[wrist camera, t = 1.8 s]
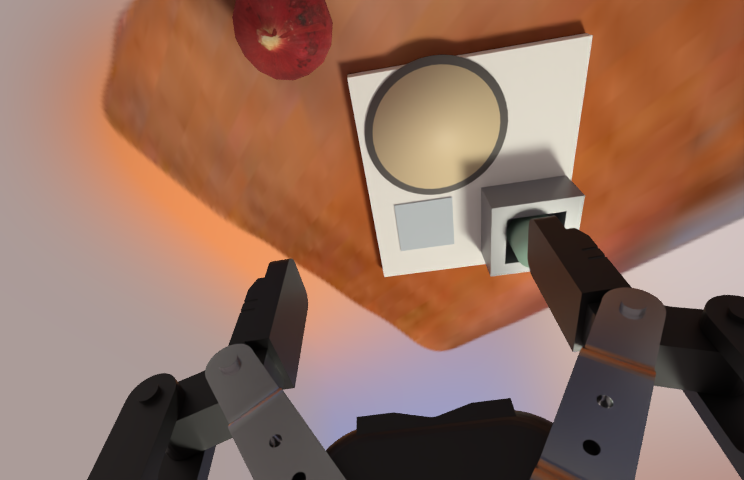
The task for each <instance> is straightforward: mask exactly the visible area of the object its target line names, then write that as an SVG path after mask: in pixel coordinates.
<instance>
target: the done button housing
mask: <svg viewBox="0 0 744 480" xmlns="http://www.w3.org/2000/svg"><path fill="white" fill-rule="evenodd" d="M584 198H585V195H584V194H583V193H582V192H581V191H580V190H579V189H578V188H577V187H576V185H575V184H574V183H573V182H572V181H571V180H570V179H569V178H568V177H567V176H566V175H564V176H557V177H550V178H543V179H536V180H529V181H522V182H515V183H509V184H502V185H495V186H488V187H481V253H482V256H483V258H484V261H485V263H486V266H487V268H488V271H489V274H490V276H498V275H506V274H514V273H521V272H529V271H530V269H529V268H528V267H525V266H523V265H522V264H521V263H520V262H519V261H518V259H517V257H516V255H515V253H514V251H513V249H512V247H511V245H510V243H509V241H508V239H507V236H506V232H507V228H508V226H509V224H510V223H511V221H512V220H513V219H514V218H521V217H528V216H535V215H543V214H547V215H548V216H556V217H557V218H558V219H559V220H560V222H561V223H562V224H563V226H564V227H565V228H566V229H570V228H576V229H578V230H579V227H580V221H581V215H582V210H583V204H584Z"/></svg>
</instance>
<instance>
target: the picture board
mask: <svg viewBox="0 0 744 480" xmlns="http://www.w3.org/2000/svg"><path fill="white" fill-rule="evenodd" d="M592 36H593V35H590V34H587V33H584V34H578V35H573V36H567V37H561V38H555V39H550V40H544V41H538V42H532V43H527V44H521V45H515V46H509V47H504V48H498V49H492V50H486V51H480V52H475V53H469V54H463V55H457V56H453V55H433V56H427V57H423V58H420V59H417V60H415V61H412V62H410V63H408V64H406V65H400V66H394V67H388V68H382V69H377V70H371V71H365V72H359V73H354V74H348V76H347V79H348V85H349V90H350V95H351V101H352V106H353V112H354V117H355V122H356V128H357V133H358V138H359V144H360V149H361V154H362V160H363V165H364V170H365V176H366V181H367V186H368V192H369V197H370V202H371V208H372V213H373V218H374V224H375V229H376V234H377V240H378V245H379V250H380V256H381V261H382V266H383V272H384V277H388V276H395V275H403V274H411V273H419V272H426V271H434V270H442V269H450V268H457V267H465V266H473V265H481V264H486V263H485V261H484V258H483V256H482V253H481V187H488V186H495V185H502V184H509V183H515V182H522V181H529V180H536V179H543V178H550V177H557V176H564V175H566V176H567V177H568V178H569V179H570V180H571V179H572V172H573V165H574V158H575V152H576V145H577V138H578V131H579V124H580V118H581V111H582V104H583V97H584V91H585V84H586V77H587V70H588V63H589V57H590V50H591V43H592Z"/></svg>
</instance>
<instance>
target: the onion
mask: <svg viewBox="0 0 744 480" xmlns="http://www.w3.org/2000/svg"><path fill="white" fill-rule="evenodd" d="M232 18H233V25H234V31H235V38H236V40H237V42H238V44H239V46H240V48H241V50H242V52H243V54H244V56H245V57H246V58H247V59H248V60H249V61H250V62H251V63H252V64H253V65H254V66H255V67H256V68H257V69H258V70H259V71H260V72H262V73H264V74H267V75H269V76H271V77H273V78H275V79H281V80H296V79H298V78H301V77H304V76H306V75H309V74H310V73H311V72H313V71H314V70H315V69H316V68H317V67H318V66H320V65H321V64H322V63H323V62H324V59H325V57H326V55H327V53H328V51H329V49H330V46H331V40H332V24H333V22H332V19H331V17H330V14H329V11H328V8H327V5H326V2H325V0H236V2H235V7H234V12H233V17H232Z"/></svg>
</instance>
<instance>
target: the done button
mask: <svg viewBox="0 0 744 480" xmlns="http://www.w3.org/2000/svg"><path fill="white" fill-rule="evenodd" d="M542 217H548V215H547V214H543V215H535V216H528V217H521V218H514V219H513V220H512V221H511V223H510V224H509V226H508V228H507V232H506V236H507V239H508V241H509V243H510V245H511V247H512V249H513V251H514V253H515V255H516V257H517V259H518V261H519V262H520V263H521V264H522V265H523V266H525V267H528V268H529V266H528V259H527V253H528V229H529V221H530V220H531V219H535V218H542Z"/></svg>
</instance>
